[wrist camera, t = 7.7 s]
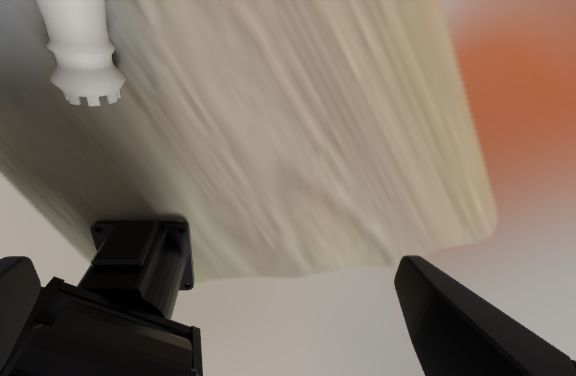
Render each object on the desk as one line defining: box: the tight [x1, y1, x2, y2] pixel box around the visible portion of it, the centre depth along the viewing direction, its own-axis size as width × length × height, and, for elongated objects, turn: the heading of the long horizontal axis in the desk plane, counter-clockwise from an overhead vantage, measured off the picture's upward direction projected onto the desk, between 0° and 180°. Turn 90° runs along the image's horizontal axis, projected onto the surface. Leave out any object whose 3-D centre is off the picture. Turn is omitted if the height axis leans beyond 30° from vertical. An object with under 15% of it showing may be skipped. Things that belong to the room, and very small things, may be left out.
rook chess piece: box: [35, 0, 126, 106], centre depth 14 cm, size 4×4×8 cm
